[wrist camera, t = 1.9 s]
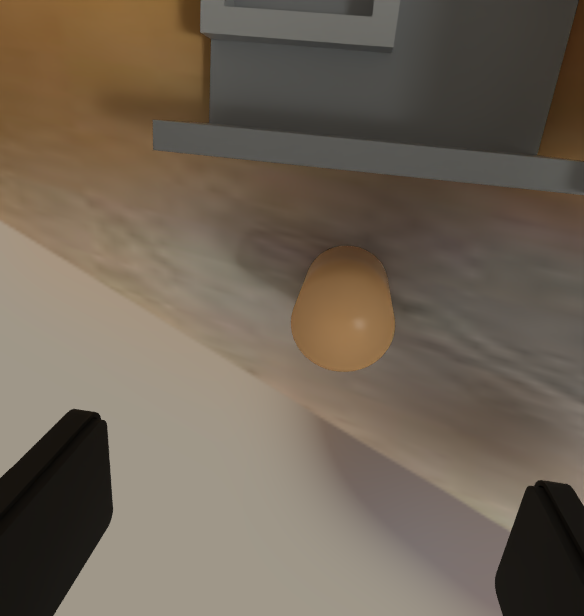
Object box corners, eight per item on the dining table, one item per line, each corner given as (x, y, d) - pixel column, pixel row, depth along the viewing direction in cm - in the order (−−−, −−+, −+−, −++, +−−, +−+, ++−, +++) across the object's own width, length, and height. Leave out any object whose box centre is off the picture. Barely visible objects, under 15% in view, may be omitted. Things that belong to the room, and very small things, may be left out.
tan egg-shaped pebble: (405, 289, 24) (417, 331, 19) (342, 338, 26) (338, 389, 21) (350, 228, 24) (346, 254, 19) (288, 282, 25) (270, 320, 20)
